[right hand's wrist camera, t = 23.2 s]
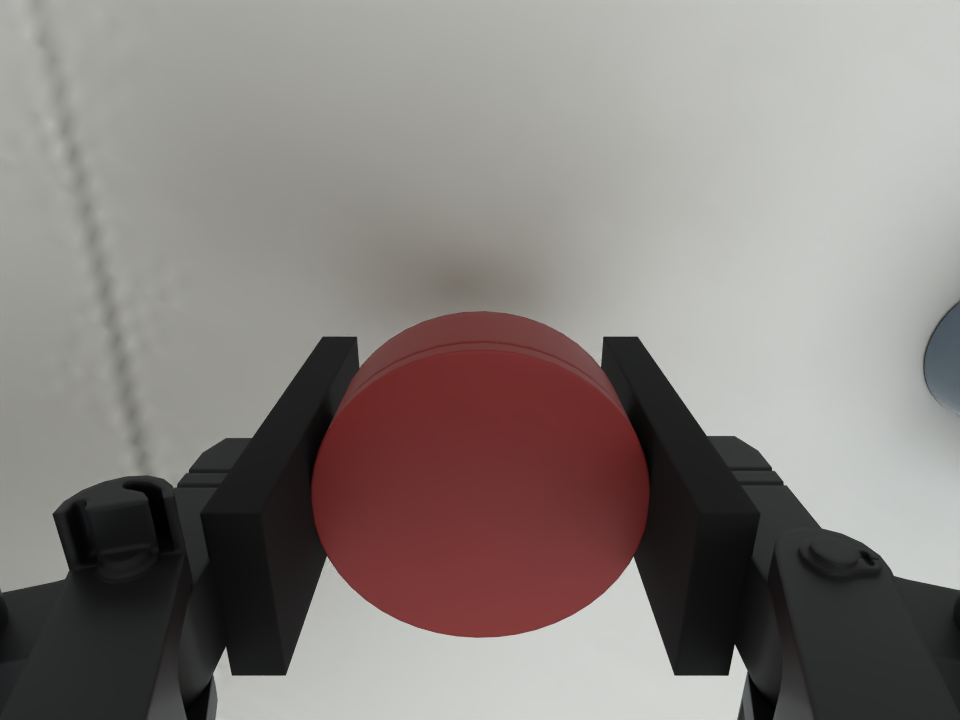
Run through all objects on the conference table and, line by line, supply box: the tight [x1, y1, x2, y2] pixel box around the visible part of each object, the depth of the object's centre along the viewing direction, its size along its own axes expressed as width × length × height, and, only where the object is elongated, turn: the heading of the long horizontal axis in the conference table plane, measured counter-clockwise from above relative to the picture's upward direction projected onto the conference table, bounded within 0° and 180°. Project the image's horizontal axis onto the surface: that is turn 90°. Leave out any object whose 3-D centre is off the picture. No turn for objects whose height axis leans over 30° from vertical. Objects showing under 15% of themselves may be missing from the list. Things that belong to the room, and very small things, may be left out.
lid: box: [311, 311, 650, 638], centre depth 11 cm, size 6×6×2 cm
